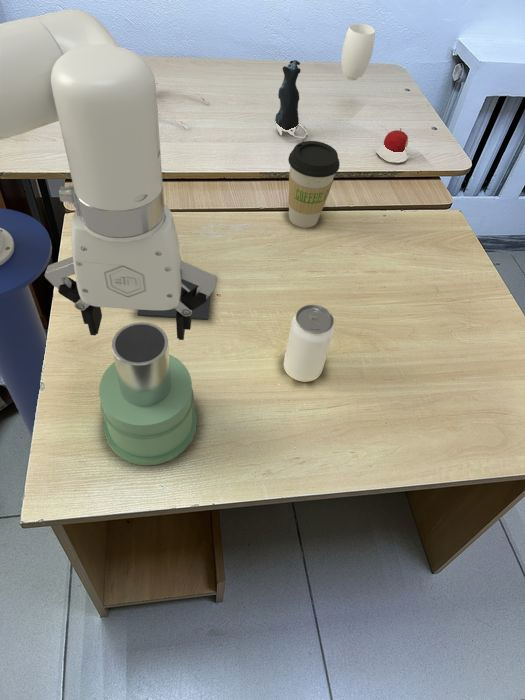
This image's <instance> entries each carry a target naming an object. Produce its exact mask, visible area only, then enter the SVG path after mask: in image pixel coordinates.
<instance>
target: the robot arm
mask: <svg viewBox="0 0 525 700" xmlns="http://www.w3.org/2000/svg"><path fill="white" fill-rule="evenodd" d="M155 81H156V79H155V75H154V73H153V69H152V68H151V66H150V65H149V63H148V62H147V61H146V60H145V58H143V57H142V56H141V55H140V54H138V53H137V52H134V51H132V50H130V49H128V48H124V47H122V46H121V45H120V44H119V43H118V41H117V40H116V39H115V38H114V37H113V35H112V34H111V33H110V31H109V30H108V29H107V27H106V26H105V25H104V24H103V23H102V22H101V21H100V20H99V19H98V18H97V17H95V15H93V14H92V13H90V12H88V11H85V10H82V9H77V8H76V9H74V8H73V9H72V8H70V9H62V10H58V11H57V10H56V11H54V12H48V13H45V14H40V15H35V16H31V17H24V18H23V17H22V18H19V19H14V20H11V21H6V22H1V23H0V140H4V139H10V138H13V137H16V136H20V135H23V134H25V133H29V132H31V131H33V130H36V129H40V128H43V127H46V126H48V125H51V124H54V123H59V128H60V132H61V135H62V140H63V144H64V149H65V154H66V159H67V163H68V167H69V172H70V177H71V182H72V185H68V186H62V185H61V186H60V187H59V191H58V197H59V201H60V202H62V203H68V204H69V205H73V207H74V208H75V211H74V213H73V214H72V217H71V222H70V239H71V240H70V241H71V253H72V256H71V257H67V258H64V259H61V260H59V261H57V262H54V263H51V264H48V265H47V267H46V269H45V272H44V277H45V279H46V280H47V281H48V282H49V283H50V284H51V285H52V286H53V287H54V288H57V292H58V293H59V295H60V296H63V297H64V298H66V300H67V299H68V300H69V301H70V302H71V303H74V308H75V309H76V310H78V311H80V313H81V317H82V321H83V324H84V325H87V328H88V331H89V335H90V336H97V335H98V334H99V331H100V327H101V323H102V319H103V313H102V308H108V309H121V310H122V309H123V310H137V311H138V310H170V309H173V308H174V309H176V310H177V313H176V318H175V324H176V338H177V339H178V341H184V340H185V331H186V330H187V331H190V330H191V328H192V319H191V314H192V311H193V310H194V309H196V308H197V307H199V306H200V305H202V304H204V303H205V302H206V299H207V297H208V296H210V297H211V295H212V293H213V292H214V291H215V290H216V288H217V282H218V281H217V280H218V277H217V276H216V274H215V275H214V274H212V273H211V272H208V271H206V270H204V269H201V268H199V267H197V266H195V265H192V264H190V263H188V262H185V261H184V260H183V259H182V253H181V247H180V241H179V235H178V231H177V227H176V223H175V220H174V216H173V213H172V210H171V209H170V207H169V206H168V205H165V198H164V197H165V196H164V183H163V171H162V169H163V168H162V167H163V166H162V154H161V153H162V151H161V140H160V125H159V113H158V111H159V110H158V99H157V85H156V84H157V83H155ZM14 247H15V246H14V241H13V238H12V236H11V235H10V234H9V233H8V232H7V231H6V230H4V229H2V228H0V265H2V264H4V263H5V262H6V261H7V260H8V259H9V258H10V257H11V256H12V254H13V252H14ZM73 275H75V280H74V279H73V278H71V277H70V276H73ZM182 279H183V280H185V281H188V282H190V283H192V284H195V285H197V287H195V288H194V289H192V290H191V291H190V290H189V289H188V288H187V287H186V286H185V285H184V284H182V283H181V280H182Z"/></svg>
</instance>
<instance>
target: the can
mask: <svg viewBox="0 0 525 700" xmlns="http://www.w3.org/2000/svg"><path fill="white" fill-rule="evenodd" d="M334 333H335V319H334V316H333V314H332V313H331V311H330V310H328V309H327V308H325V307H324V306H322V305H319V304H306V305H303V306H302V307H300V308H299V309H298V310H297V312H296V313H295V315H294V316H293V318H292V320H291V323H290V328H289V333H288V338H287V343H286V348H285V353H284V359H283V370H284V371H285V372H286V374H287V375H288V377H290V378H292V379H293V380H295V381H298V382H304V383H305V382H306V383H308V382H312V381H315V380H317V379H318V378H319V377H320V376H321V374H322V372H323V371H324V366H325V364H326V360H327V357H328V353H329V351H330V348H331V347H330V346H331V343H332V341H333V338H334Z"/></svg>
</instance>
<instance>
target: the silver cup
mask: <svg viewBox="0 0 525 700" xmlns="http://www.w3.org/2000/svg"><path fill="white" fill-rule="evenodd" d="M169 345H170V344H169V338H168V335H167V334H166V332H165V330H163V329H162V328H161V327H160V326H158V325H156V324H154V323H150V322H143V321H140V322H133V323H130V324H127V325H125V326H122V328H120V329H119V330H117V331H116V333H115V334H114V336H113V338H112V340H111V350H112V351H111V352H112V356H113V360H114V362H115V366H116V371H117V375H118V380H119V385H120V390H121V394H122V396H123V397H124V399H125V400H126V401H128V402H129V403H131V404H133V405H135V406H140V407H148V406H153V405H156V404H158V403H160V402H161V401H163V400H164V399H165V398H166V397H167V396H168V394H169V392H170V390H171V373H170V359H169V354H170V347H169Z"/></svg>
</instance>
